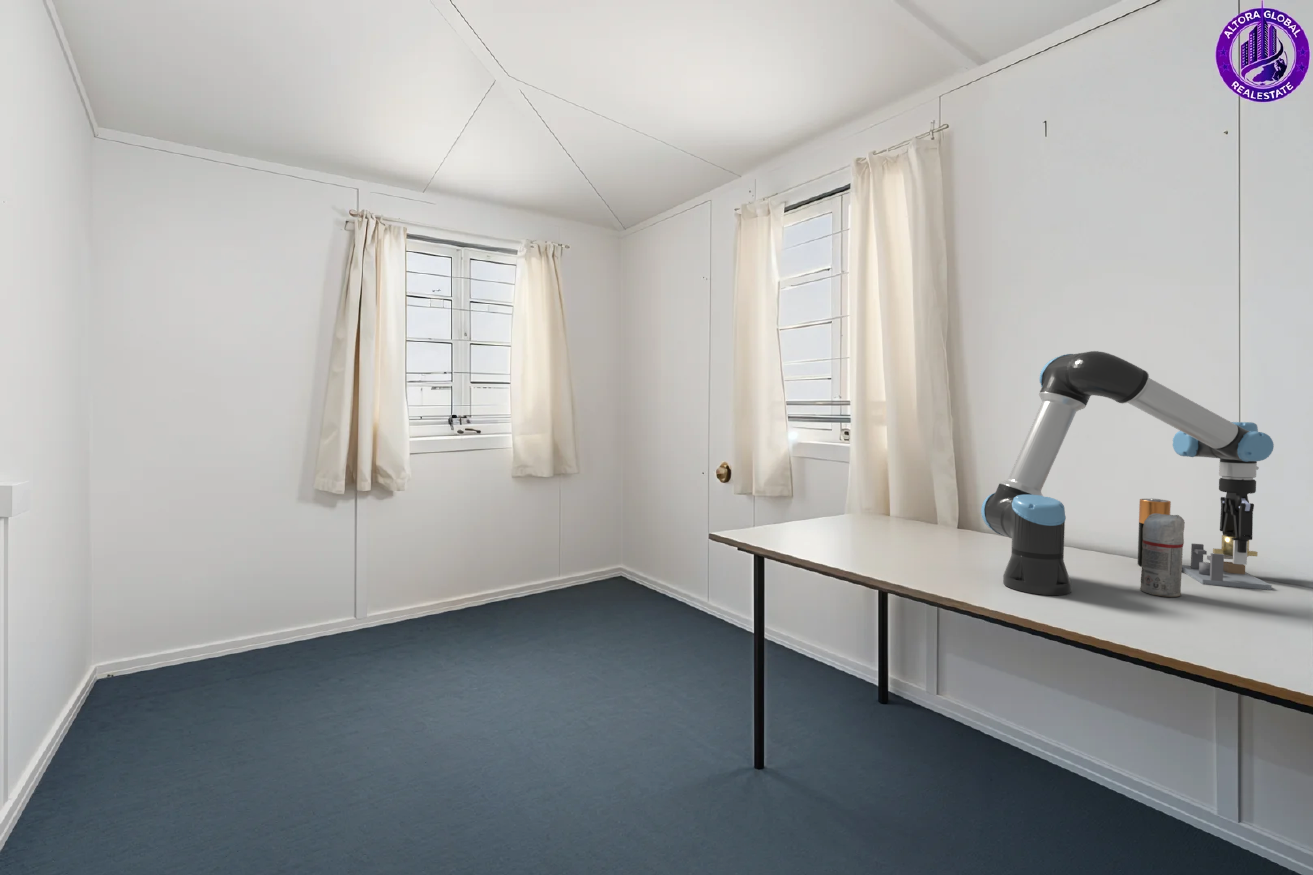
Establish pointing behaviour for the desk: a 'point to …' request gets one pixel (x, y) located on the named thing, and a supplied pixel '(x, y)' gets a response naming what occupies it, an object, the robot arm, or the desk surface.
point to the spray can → (1162, 555)
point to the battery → (1145, 510)
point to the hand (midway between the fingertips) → (1234, 561)
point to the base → (1220, 571)
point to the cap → (1231, 547)
